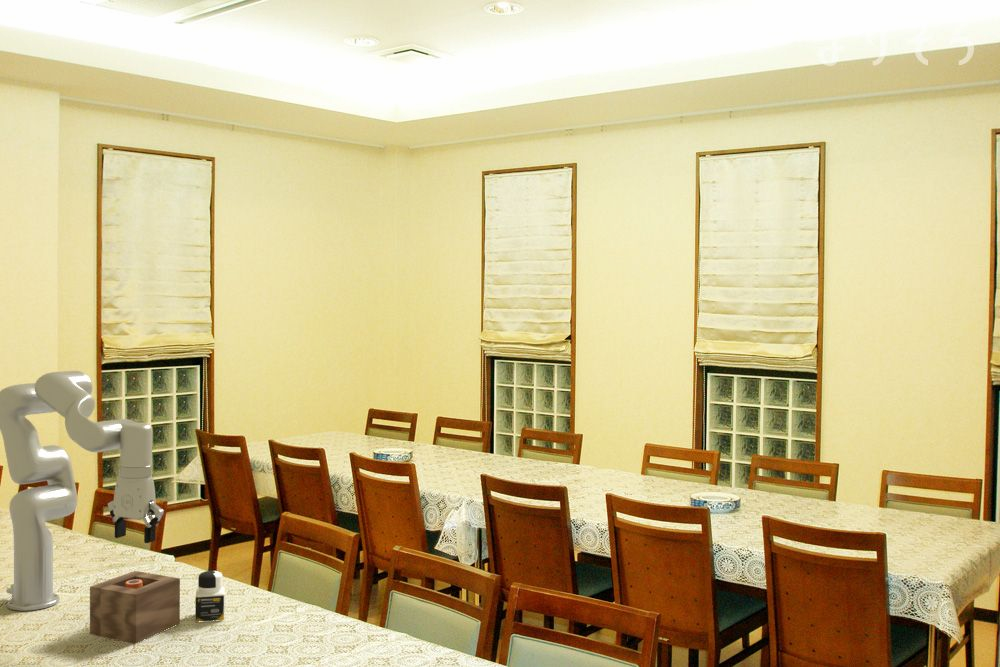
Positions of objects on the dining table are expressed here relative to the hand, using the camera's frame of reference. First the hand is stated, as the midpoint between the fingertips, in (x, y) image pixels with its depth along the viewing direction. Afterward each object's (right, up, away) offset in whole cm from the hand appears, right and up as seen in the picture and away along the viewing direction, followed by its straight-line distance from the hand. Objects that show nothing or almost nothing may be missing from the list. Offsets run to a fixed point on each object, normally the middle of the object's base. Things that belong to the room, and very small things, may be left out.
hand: (134, 539), depth 236 cm
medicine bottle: (+16, -23, +10) cm, 30 cm away
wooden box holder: (0, -23, +1) cm, 23 cm away
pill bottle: (0, -22, +1) cm, 22 cm away
